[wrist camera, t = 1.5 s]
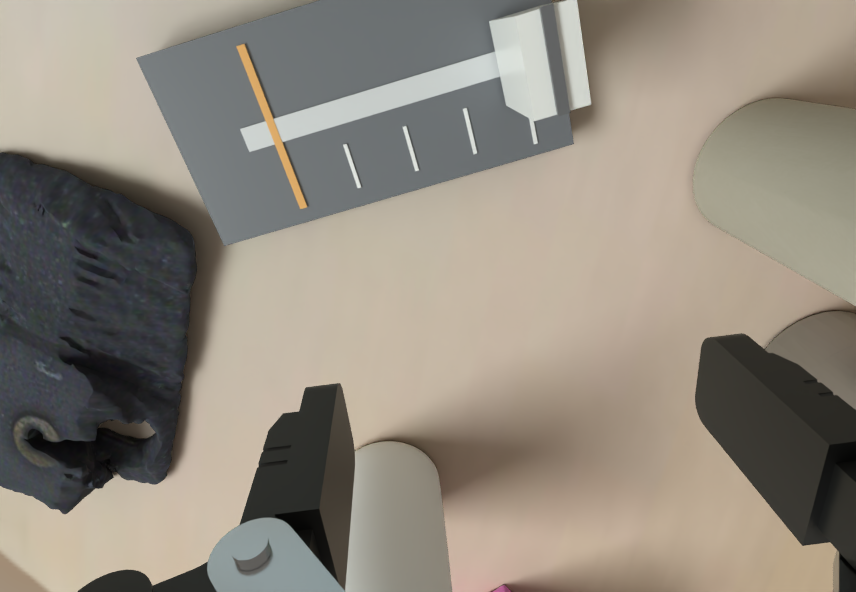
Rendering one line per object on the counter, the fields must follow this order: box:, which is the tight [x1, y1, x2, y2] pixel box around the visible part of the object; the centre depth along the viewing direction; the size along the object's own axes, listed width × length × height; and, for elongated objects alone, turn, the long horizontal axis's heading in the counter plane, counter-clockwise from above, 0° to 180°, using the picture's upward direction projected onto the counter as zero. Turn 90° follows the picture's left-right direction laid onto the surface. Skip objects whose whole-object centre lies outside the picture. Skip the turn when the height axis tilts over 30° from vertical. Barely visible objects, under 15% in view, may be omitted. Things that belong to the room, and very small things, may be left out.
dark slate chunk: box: [0, 153, 197, 514], centre depth 33 cm, size 15×22×5 cm
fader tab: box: [489, 0, 591, 121], centre depth 24 cm, size 2×4×6 cm, turn 15°
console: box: [136, 0, 574, 246], centre depth 29 cm, size 20×10×2 cm, turn 105°
